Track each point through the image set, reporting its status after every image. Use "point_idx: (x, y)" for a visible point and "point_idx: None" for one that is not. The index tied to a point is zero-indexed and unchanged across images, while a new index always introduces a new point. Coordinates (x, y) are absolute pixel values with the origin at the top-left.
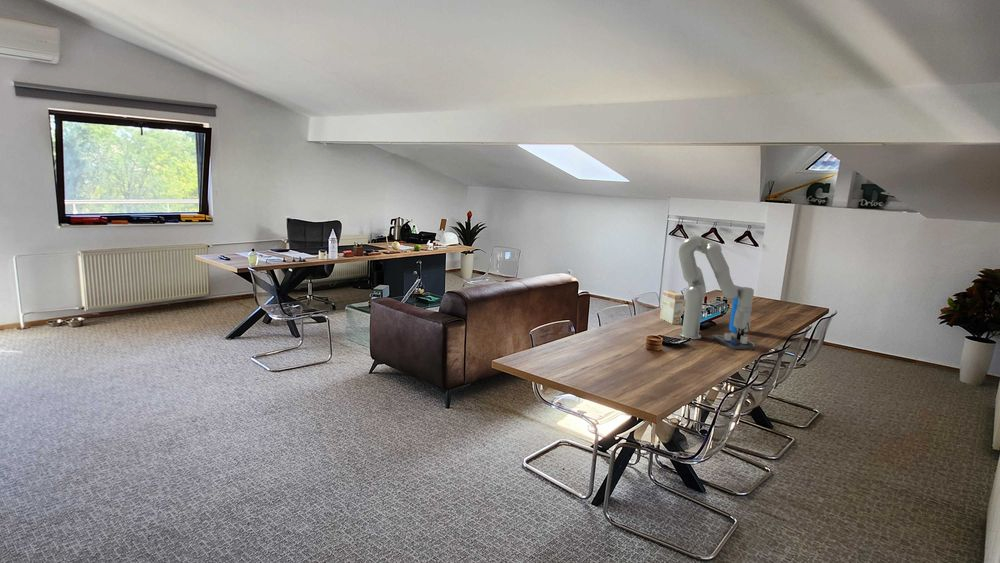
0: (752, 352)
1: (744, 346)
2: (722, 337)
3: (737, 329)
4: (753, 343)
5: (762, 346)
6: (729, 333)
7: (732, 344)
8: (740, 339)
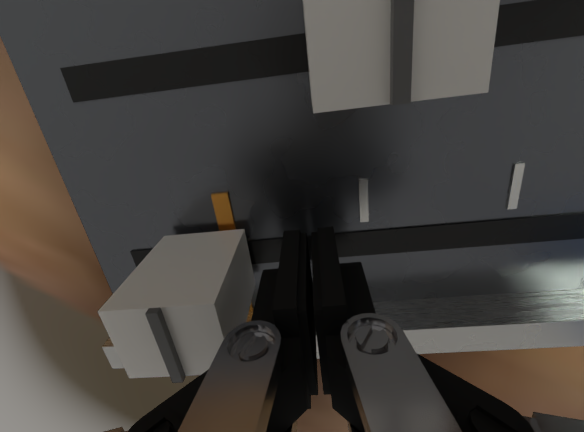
0: (28, 245)
1: (82, 213)
2: (581, 34)
3: (415, 388)
4: (110, 354)
5: (298, 422)
6: (379, 65)
7: (99, 34)
8: (229, 253)
